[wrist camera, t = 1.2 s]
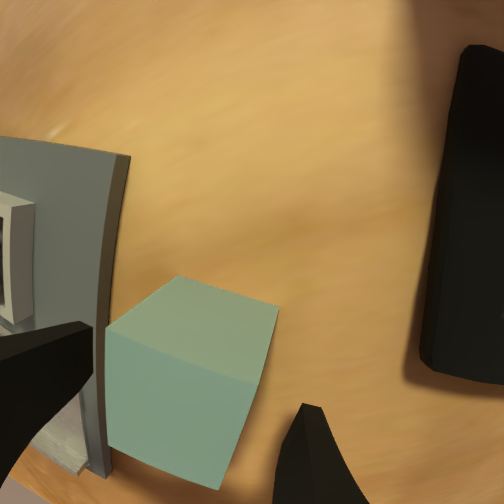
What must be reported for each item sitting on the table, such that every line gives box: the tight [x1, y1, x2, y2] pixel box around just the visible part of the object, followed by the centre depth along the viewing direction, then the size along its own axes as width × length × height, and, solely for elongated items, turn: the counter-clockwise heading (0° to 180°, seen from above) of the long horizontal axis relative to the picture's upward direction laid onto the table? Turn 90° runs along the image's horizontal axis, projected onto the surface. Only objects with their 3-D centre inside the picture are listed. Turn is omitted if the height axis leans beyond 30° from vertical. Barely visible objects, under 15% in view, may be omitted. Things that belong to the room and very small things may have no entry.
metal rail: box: [0, 321, 91, 477], centre depth 14 cm, size 8×12×2 cm
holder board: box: [0, 136, 130, 479], centre depth 14 cm, size 20×14×1 cm
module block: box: [105, 275, 279, 490], centre depth 10 cm, size 5×4×5 cm
